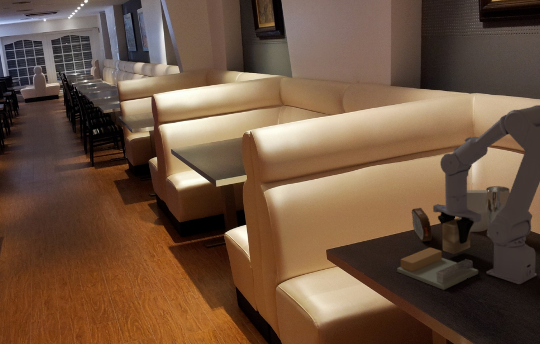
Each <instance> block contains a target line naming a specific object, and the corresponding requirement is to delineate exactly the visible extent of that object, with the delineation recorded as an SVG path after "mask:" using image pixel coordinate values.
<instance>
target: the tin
mask: <svg viewBox="0 0 540 344" xmlns="http://www.w3.org/2000/svg"><path fill="white" fill-rule="evenodd" d="M411 216H412V227H413V230H414V232H415V234H416V235H417V237H418V239H419V241H421V242H423V243H424V242H431V241H432V226H431V222H430V219H429V216H428V215H427V214H426V212H425V211H424V210H423V209H422V207H418V208H412V210H411Z"/></svg>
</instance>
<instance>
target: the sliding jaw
mask: <svg viewBox="0 0 540 344" xmlns="http://www.w3.org/2000/svg"><path fill="white" fill-rule="evenodd" d="M442 252H443V250H440V249H436V248H433V247H428V248H425V249H423V250H420V251H418V252H415V253H413V254H411V255H407V256H405V257H403V258H401V259H400V267H401V268H404V269H406V270H409V271H412V272H413V271H415V270H418V269H420V268H422V267H425V266H427V265H429V264H432V263H434V262H436V261H439V260H441V259H442V258H443V257H442V254H443V253H442Z"/></svg>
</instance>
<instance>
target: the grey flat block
mask: <svg viewBox="0 0 540 344" xmlns="http://www.w3.org/2000/svg"><path fill="white" fill-rule="evenodd" d="M396 272H397V273H399V274H402V275H404V276H407V277H410V278H413V279H415V280H418V281H420V282H422V283H424V284H425V283H426V284H428V285H431V286H433V287H435V288H438V289H441V290H443V291H445V290H447V289H448V288H451V287H452V286H455V285H457V284H459V283H461V282H463V281H465V280H468V279H470V278H471V277H474V276H476V275H478V274H479V269H477V268H474V265H473V260H470V259H468V258H465V259H464V260H460V261H458V262H456V261H453V260H451V259H447V258H444V257H442V259H441V260H439V261H436V262H434V263H432V264H429V265H427V266H425V267H422V268H420V269H418V270H415V271H413V272H412V271H409V270H406V269H404V268H401V266H399V267H397V268H396ZM467 278H468V279H467Z"/></svg>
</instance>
